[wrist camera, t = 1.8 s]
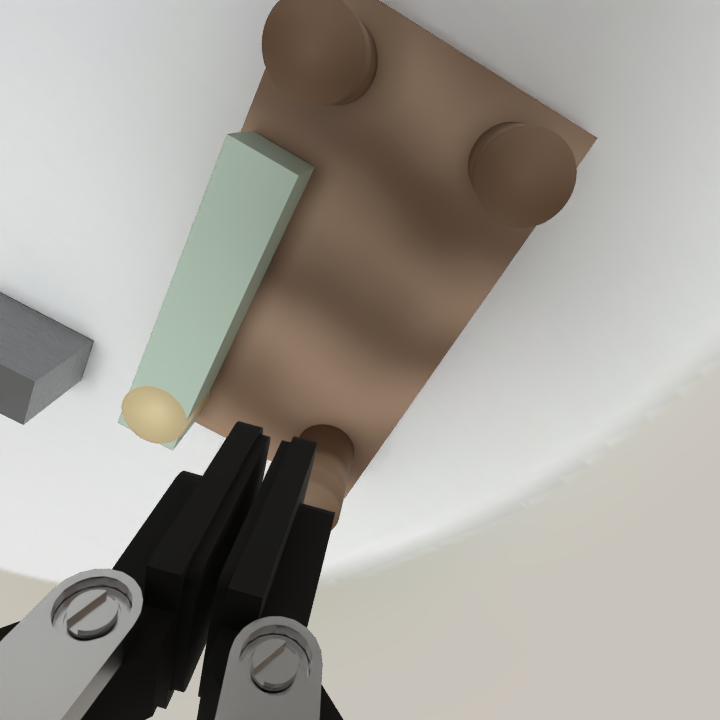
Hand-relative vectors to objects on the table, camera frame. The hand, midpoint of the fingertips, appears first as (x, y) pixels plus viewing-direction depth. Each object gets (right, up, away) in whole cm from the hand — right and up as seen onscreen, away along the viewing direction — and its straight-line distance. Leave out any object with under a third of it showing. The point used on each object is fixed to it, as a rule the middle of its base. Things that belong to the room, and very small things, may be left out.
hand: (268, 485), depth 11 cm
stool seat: (+1, +7, +16) cm, 17 cm away
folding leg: (-5, +6, +14) cm, 16 cm away
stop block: (-17, +4, +20) cm, 26 cm away
